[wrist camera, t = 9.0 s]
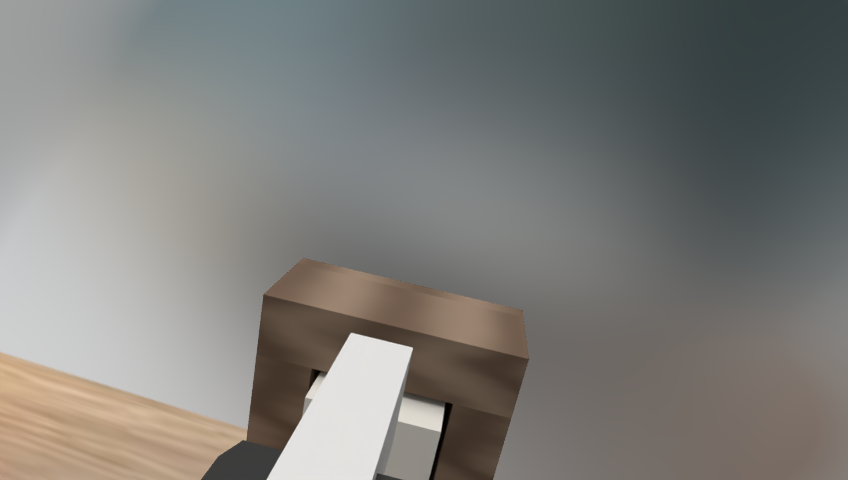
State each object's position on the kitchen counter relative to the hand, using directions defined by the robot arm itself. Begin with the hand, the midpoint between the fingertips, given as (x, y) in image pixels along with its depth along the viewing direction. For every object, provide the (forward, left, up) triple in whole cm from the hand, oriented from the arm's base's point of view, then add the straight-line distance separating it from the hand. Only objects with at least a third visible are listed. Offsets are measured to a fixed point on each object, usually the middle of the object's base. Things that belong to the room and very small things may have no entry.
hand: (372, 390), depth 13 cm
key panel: (+1, -16, -29) cm, 34 cm away
